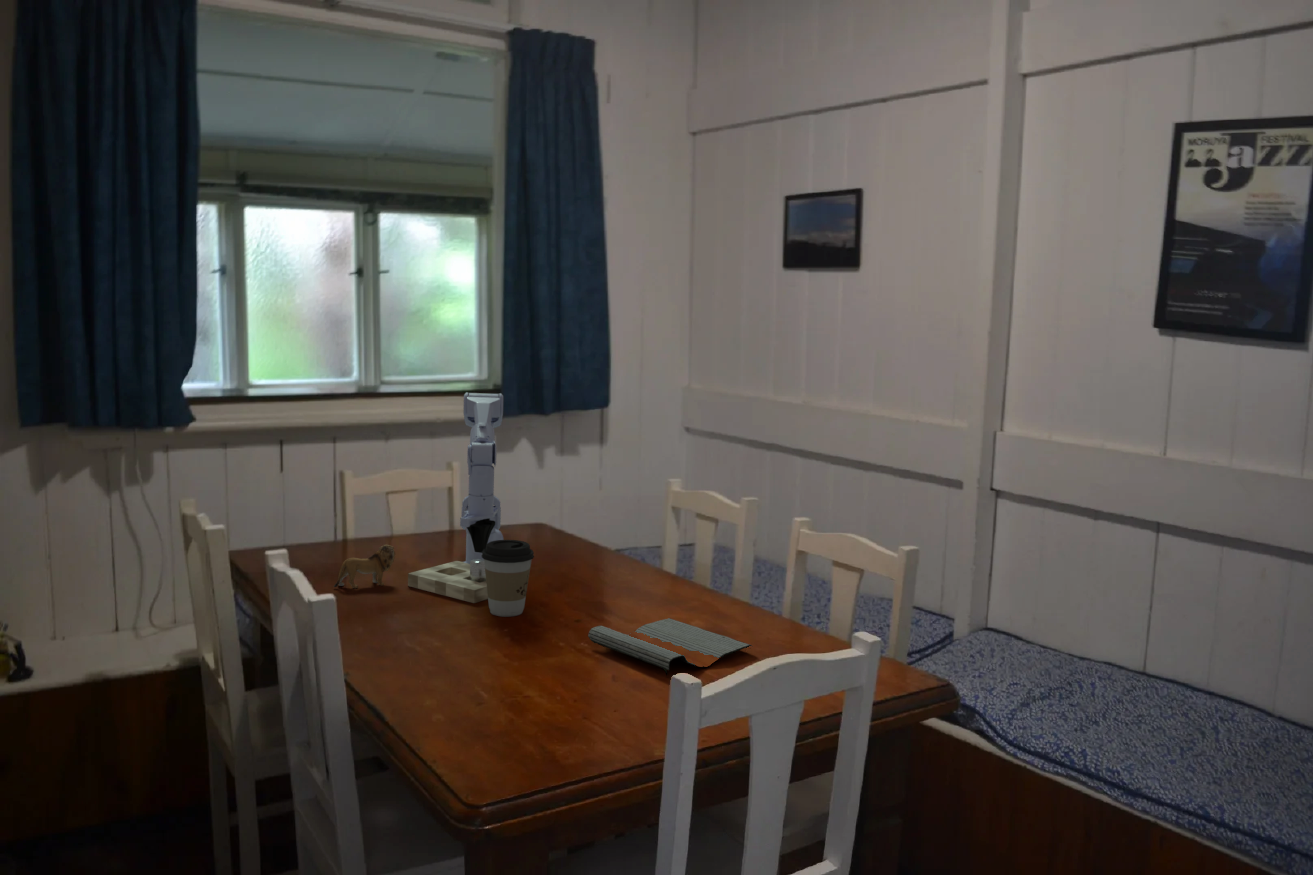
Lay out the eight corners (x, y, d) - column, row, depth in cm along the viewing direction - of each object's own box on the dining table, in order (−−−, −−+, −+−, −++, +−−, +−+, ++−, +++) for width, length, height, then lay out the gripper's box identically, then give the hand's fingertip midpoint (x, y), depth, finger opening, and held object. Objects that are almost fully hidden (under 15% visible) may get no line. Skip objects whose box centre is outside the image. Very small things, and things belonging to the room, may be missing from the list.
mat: (753, 657, 198) (754, 634, 198) (668, 684, 182) (669, 659, 182) (671, 626, 215) (672, 605, 214) (586, 649, 199) (587, 626, 198)
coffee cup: (522, 622, 212) (524, 552, 210) (471, 616, 214) (473, 548, 213) (539, 606, 223) (541, 541, 221) (491, 601, 226) (492, 536, 224)
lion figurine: (389, 578, 241) (390, 541, 240) (399, 583, 237) (399, 546, 236) (329, 586, 232) (329, 548, 231) (338, 592, 228) (338, 553, 227)
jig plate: (456, 572, 249) (456, 560, 248) (521, 588, 237) (521, 575, 237) (407, 585, 235) (408, 573, 235) (474, 603, 224) (474, 590, 224)
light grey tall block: (475, 587, 237) (476, 558, 236) (490, 589, 235) (490, 560, 234) (466, 591, 233) (466, 561, 232) (480, 593, 231) (481, 564, 230)
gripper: (482, 487, 239) (480, 543, 241) (448, 497, 226) (447, 556, 227) (508, 490, 237) (506, 546, 238) (476, 500, 223) (475, 560, 225)
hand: (479, 551), depth 233 cm, fingers closed
